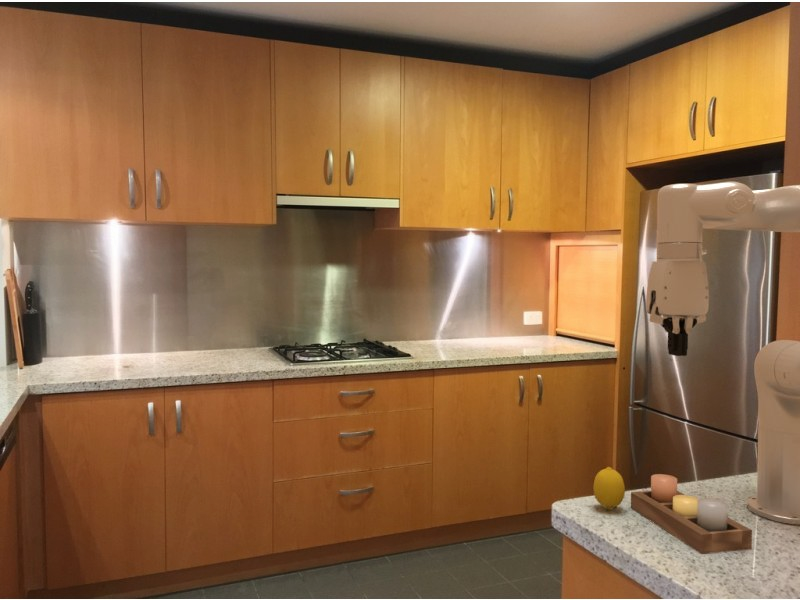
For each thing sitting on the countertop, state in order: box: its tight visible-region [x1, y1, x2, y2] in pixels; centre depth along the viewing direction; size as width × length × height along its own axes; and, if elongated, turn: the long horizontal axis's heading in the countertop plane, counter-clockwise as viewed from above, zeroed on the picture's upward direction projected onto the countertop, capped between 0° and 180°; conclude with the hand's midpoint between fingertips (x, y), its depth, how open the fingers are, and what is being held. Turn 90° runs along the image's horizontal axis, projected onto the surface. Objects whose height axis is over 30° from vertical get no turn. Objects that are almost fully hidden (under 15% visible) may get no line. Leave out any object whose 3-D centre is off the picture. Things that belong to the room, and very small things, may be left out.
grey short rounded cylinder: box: [697, 497, 729, 532], centre depth 103 cm, size 4×4×4 cm
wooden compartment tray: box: [630, 490, 753, 555], centre depth 110 cm, size 9×20×3 cm, turn 11°
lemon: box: [592, 466, 626, 511], centre depth 118 cm, size 6×6×8 cm
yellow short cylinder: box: [673, 494, 699, 517], centre depth 110 cm, size 4×4×4 cm
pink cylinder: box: [650, 473, 678, 503], centre depth 116 cm, size 4×4×4 cm
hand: (677, 354), depth 115 cm, fingers closed
